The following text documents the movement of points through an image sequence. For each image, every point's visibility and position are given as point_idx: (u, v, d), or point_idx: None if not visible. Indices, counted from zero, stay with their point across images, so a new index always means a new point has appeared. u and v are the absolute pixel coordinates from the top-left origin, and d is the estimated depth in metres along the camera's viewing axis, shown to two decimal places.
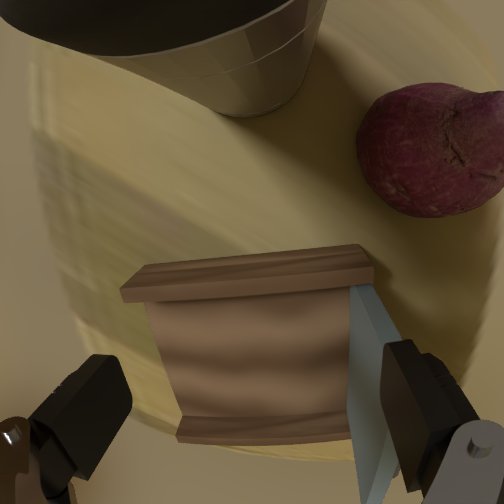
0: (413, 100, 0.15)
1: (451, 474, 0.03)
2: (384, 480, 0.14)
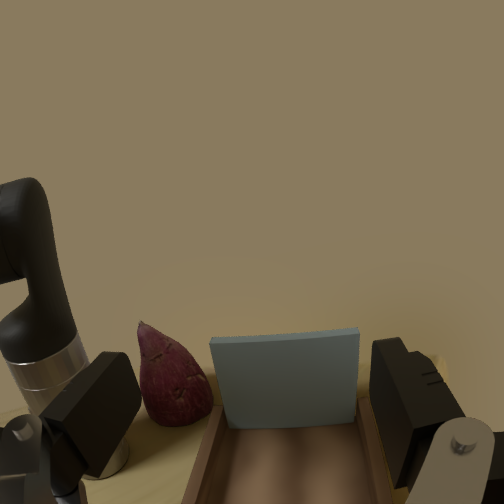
0: (141, 378, 0.38)
1: (434, 472, 0.03)
2: (300, 335, 0.29)
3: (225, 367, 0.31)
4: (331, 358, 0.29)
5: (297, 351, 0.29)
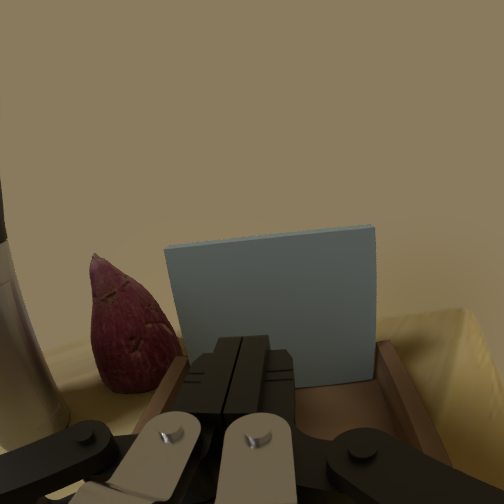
0: (91, 328, 0.29)
1: (234, 467, 0.04)
2: (291, 233, 0.21)
3: (186, 287, 0.22)
4: (337, 268, 0.21)
5: (287, 256, 0.21)
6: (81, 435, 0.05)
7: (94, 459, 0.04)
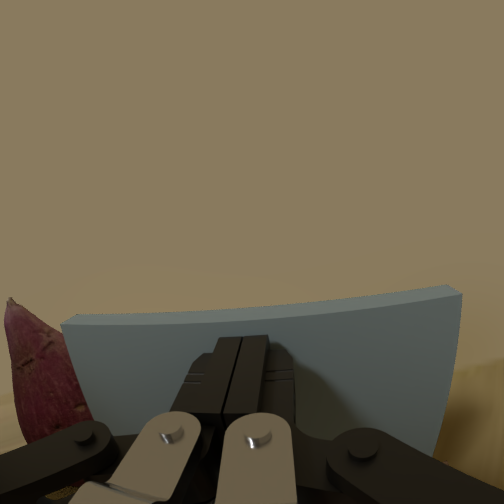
0: (14, 399, 0.17)
1: (234, 467, 0.04)
2: (296, 308, 0.10)
3: (102, 392, 0.11)
4: (385, 376, 0.09)
5: None
6: (81, 435, 0.05)
7: (94, 459, 0.04)
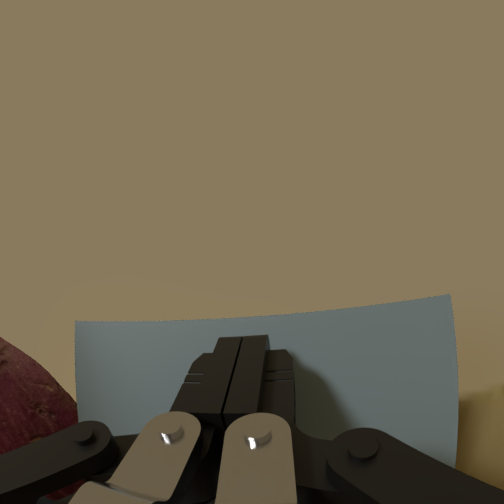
0: None
1: (234, 467, 0.04)
2: None
3: (97, 394, 0.10)
4: (387, 379, 0.09)
5: None
6: (81, 435, 0.05)
7: (94, 459, 0.04)
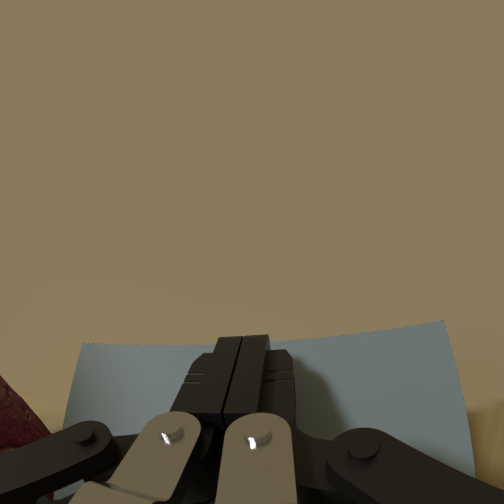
0: None
1: (234, 467, 0.04)
2: None
3: (88, 410, 0.10)
4: (388, 399, 0.09)
5: None
6: (81, 435, 0.05)
7: (94, 459, 0.04)
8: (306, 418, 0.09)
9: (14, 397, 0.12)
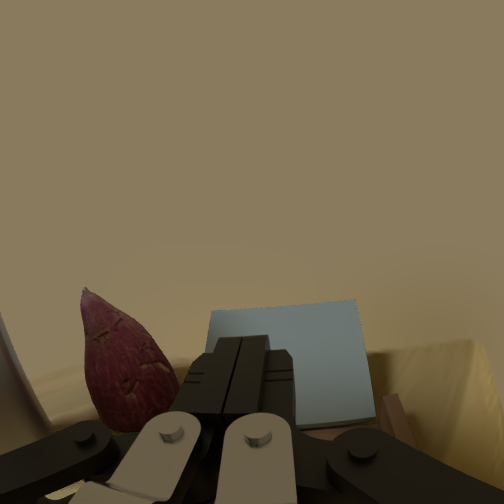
0: (85, 365, 0.27)
1: (235, 467, 0.04)
2: None
3: (219, 334, 0.30)
4: (331, 323, 0.28)
5: (295, 316, 0.30)
6: (81, 435, 0.05)
7: (94, 459, 0.04)
8: (303, 328, 0.29)
9: None
